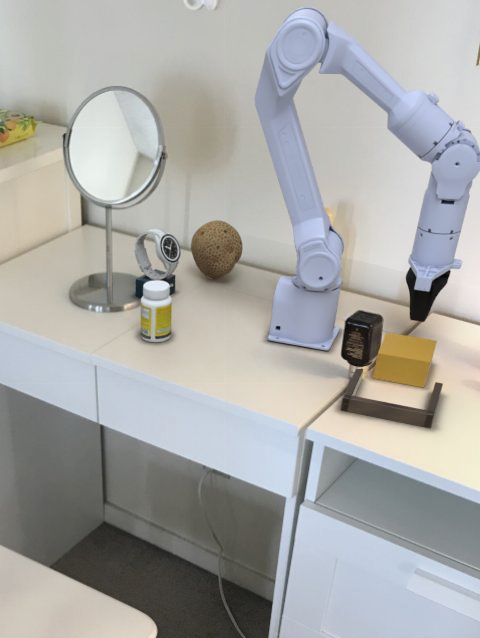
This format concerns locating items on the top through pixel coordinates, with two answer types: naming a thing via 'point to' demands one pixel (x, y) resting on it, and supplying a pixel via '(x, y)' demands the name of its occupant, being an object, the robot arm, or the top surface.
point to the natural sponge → (216, 248)
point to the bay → (389, 405)
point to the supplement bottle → (156, 311)
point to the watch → (167, 255)
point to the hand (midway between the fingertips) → (417, 319)
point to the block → (404, 359)
